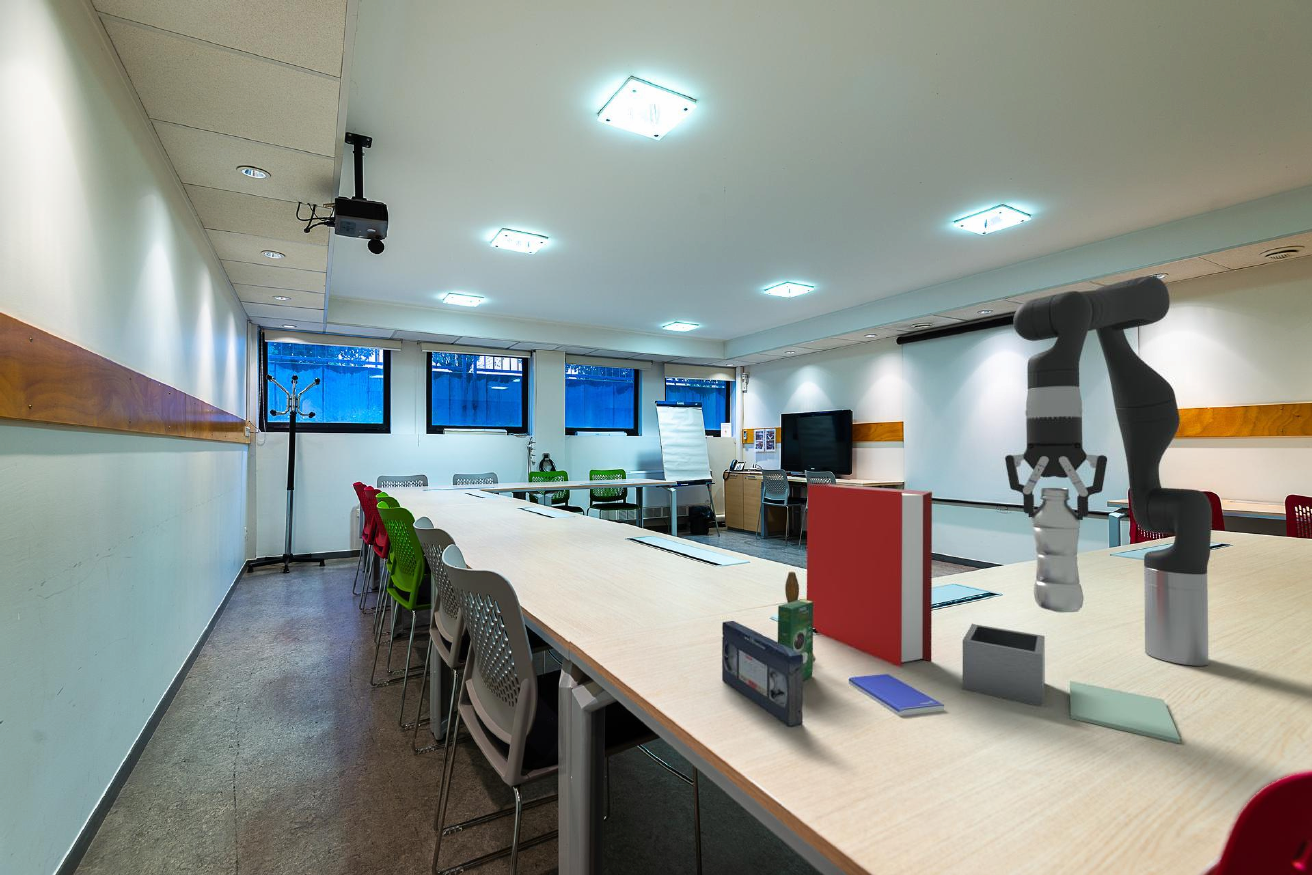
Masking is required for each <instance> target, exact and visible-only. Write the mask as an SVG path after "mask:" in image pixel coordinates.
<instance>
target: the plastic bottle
mask: <svg viewBox="0 0 1312 875" xmlns="http://www.w3.org/2000/svg"><path fill="white" fill-rule="evenodd" d="M1040 490H1041V491H1040V492H1041V493H1040V495H1041V496H1040V500H1042V503H1041V504H1040V505H1039V506H1038V507H1037V508H1036V509H1035V510H1034V515H1033V517H1031V518H1030V519H1031V526H1032V532H1033V537H1034V541H1035V550H1036V573H1035V574H1036V575H1035V578H1036V579H1035V581H1034V586H1033V596H1034V601H1035V603H1036V605H1037V606H1038V607H1040V608H1041V609H1044V610H1049V611H1052V612H1055V613H1063V614H1064V613H1077V612H1079V611H1080V610H1081V608H1083V605H1084V594H1083V588H1082V585H1081V584H1080V583H1081V582H1080V573H1079V567H1078V566H1079V565H1078V557H1077V555H1078V544H1079V543H1078V542H1079V537H1080V528H1081V520H1078V513H1076V511H1075V510H1074V509H1073V508H1072V507H1071V506H1070V505H1069V503H1068V501H1070V490H1069V488H1066V487H1065V488H1064V487H1063V488H1061V487H1042V488H1041V489H1040Z"/></svg>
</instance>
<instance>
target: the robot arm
mask: <svg viewBox="0 0 1312 875" xmlns="http://www.w3.org/2000/svg"><path fill="white" fill-rule="evenodd" d="M1167 287H1168V286H1167V285H1166V284H1165V282H1164V281H1163V280H1162V279H1161V278H1158V277H1156V276H1153V275H1151V276H1150V275H1149V276H1148V275H1146V276H1139V277H1134V278H1131V279H1128V280H1123V281H1119V282H1116V283H1113V284H1108V285H1105V286H1101V287H1097V288H1096V289H1094V290H1084V291H1077V290H1073V291H1072V290H1071V291H1065V292H1060V293H1056V294H1051V295H1047V296H1043V297H1042V296H1041V297H1037V298H1034V299H1029V300H1027V301H1025V302H1023V303H1022V304H1021V305H1019V307H1018V308H1017V309H1016V311H1015V313H1014V315H1013V319H1012V320H1013V328H1014V330H1015V331H1016V333H1017V334H1018V336H1020V337H1021V338H1022V339H1024V340H1027V341H1030V342H1035V341H1044V340H1048V339H1049V340H1050V339H1056V341H1055V343H1054V344H1053V346H1052V347H1050V348H1048V349H1047V350H1045V351H1041V352H1039V353H1037V354H1034V355H1032V356H1031V357H1030V358H1028V360H1027V372H1026V373H1027V374H1026V377H1027V394H1026V401H1025V417H1026V420H1025V421H1026V422H1025V423H1026V428H1025V429H1026V449H1025V451H1024V453H1022V454H1020V453H1019V454H1014V455H1013V454H1008V455H1006V456H1005V458H1004V460H1005V466H1006V471H1007V472H1006V473H1007V477H1008V482H1009V487H1010V489H1011V490H1012V491H1017V492H1019V493H1021V494H1022V495H1023V496H1022V497H1023V498H1022V499H1023V512H1024V514H1026V515H1027V514H1028V518H1032V517H1033V515H1034V512H1035V494H1033V491H1034V489H1035V487H1036V485H1037V483H1038V482H1039V480H1040V479H1041V477H1042V478H1052V477H1056V478H1060V479H1061V478H1062V479H1067V478H1068V479H1069V480H1070V482H1071V483H1072V485H1073V487H1074V488H1075V490H1076V492H1077V493H1078V496H1076V498H1077V499H1076V503H1077V506H1076V507H1077V508H1076V509H1077V513H1076V514H1077V516H1078V520H1080V521H1084V517H1088V515H1089V497H1090V496H1091V495H1095V494H1099V493H1101V492H1102V491H1103V487H1104V481H1105V475H1106V470H1107V462H1108V458H1107V456H1106V455H1103V454H1100V455H1094V454H1087V453H1086V452H1085V450H1084V447H1083V407H1082V405H1083V403H1082V396H1081V390H1080V361H1081V356H1082V351H1083V349H1084V344H1085V341H1086V337H1087V335H1088V332H1090V331H1091V332H1092V331H1096V335H1097V337H1098V341H1099V344H1100V347H1101V350H1102V353H1103V357H1104V360H1105V364H1106V368H1107V373H1108V376H1109V382H1110V387H1111V392H1112V397H1113V404H1114V405H1113V406H1114V409H1115V414H1116V419H1117V422H1118V426H1119V431H1120V434H1121V438H1122V439H1121V440H1122V444H1123V448H1124V453H1125V458H1126V466H1127V475H1128V484H1129V493H1130V494H1129V495H1130V503H1131V504H1130V505H1131V511H1132V516H1133V519H1134V520H1135V522H1136V524H1137V526H1138V527H1139V528H1140V529H1141V530H1143V531H1144V532H1149V533H1153V534H1160V535H1163V534H1164V535H1170V536H1174V542H1173V544H1171V546H1169V547H1167V548H1164V549H1158V550H1150V551H1147V552H1146V553H1145V554H1144V556H1143V568H1144V569H1143V570H1144V571H1143V573H1144V575H1143V576H1144V577H1143V578H1144V580H1143V581H1144V652H1145V653H1146V655H1148V656H1150V657H1153V658H1156V659H1159V660H1162V661H1164V662H1169V663H1173V664H1174V663H1175V664H1181V665H1188V666H1197V667H1199V666H1200V667H1201V666H1206V665H1209V603H1208V602H1209V599H1208V598H1209V597H1208V595H1209V594H1208V591H1209V590H1208V565H1209V560H1210V556H1211V538H1212V537H1211V536H1212V522H1213V510H1212V505H1211V502H1210V499H1209V497H1208V496H1207V494H1206V493H1204V492H1203V491H1201V490H1198V489H1191V488H1189V489H1188V488H1175V487H1173V488H1170V487H1162V484H1161V479H1160V463H1161V460H1162V458H1163V455H1164V454H1165V452H1166V451H1167V449H1168V447H1169V446H1170V445H1171V443H1172V441H1173V439H1174V438H1175V436H1176V434H1177V432H1178V430H1179V427H1180V423H1181V422H1180V421H1181V420H1180V412H1179V409H1178V403H1177V398H1176V394H1175V391H1174V388H1173V387H1172V385H1171V383H1169V382H1168V380H1166V378H1164V377H1163V376H1162V375H1161V374H1160V373H1158V372H1157V371H1156V370H1155V369H1153V368H1152V367H1151V366H1150V365H1148V363H1146V362H1145V361H1144V360H1143V359H1142V358H1141V357H1140V356H1138V354H1137V353H1136V352H1135V351H1134V350H1133V348H1132V346H1131V344H1130V343H1129V340H1128V339H1127V337H1126V333H1125V331H1124V330H1128V329H1132V328H1138V327H1144V326H1149V325H1152V324H1154V323H1157V322H1159V321H1161V320H1162V319H1164V318H1165V317H1166V315H1167V314H1168V313H1169V309H1170V300H1171V299H1170V294H1169V290H1168V288H1167ZM1022 461H1025V462H1026V464H1027V465H1028V466H1029V467H1030V468H1031V469H1032V470H1033V471H1032V472H1031V474H1030V476H1029V478H1028V479H1027V481H1026V484H1022V483H1020V479H1019V475H1018V468H1019V467H1020V466H1021V464H1022V463H1021V462H1022ZM1085 461H1088V463H1089V465H1090V467H1091V468H1092V469H1095V470H1094V475H1093V482H1092V485H1090V486H1085V484H1084V482H1083V481H1082V479H1081V477H1080V476H1079V474H1078V472H1077V470H1078V469H1079V468H1080V467H1081V465H1082V464H1083V463H1085Z"/></svg>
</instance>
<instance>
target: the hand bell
mask: <svg viewBox="0 0 1312 875" xmlns="http://www.w3.org/2000/svg"><path fill="white" fill-rule="evenodd" d="M784 585H785V586H784V587H785V588H784V590H785V598H786V602H787V603H790V602H793V601H796V600H799V597H800V596H799V595H800V585H799V582H798V578H797V575H796V572H795V571H789V572H788V574H787V577H786V580H785V584H784ZM815 658H816V657H815V654H814V653H813V661H814V660H815Z"/></svg>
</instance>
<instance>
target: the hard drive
mask: <svg viewBox="0 0 1312 875" xmlns="http://www.w3.org/2000/svg"><path fill="white" fill-rule="evenodd" d="M848 684H849V685H850V686H852V687H853V688H855V689H856V690H858V691H859V692H861V693H863V694H864V695H866V696H867V697H869V698H870V699H872V700H874V701H875V702H876V703H878V704H880V705H881V706H883V707H884V708H886V709H888V710H889V711H890V712H892V713H894V714H895V715H897V716H898V717H903V716H904V717H905V716H910V715H918V714H925V713H927V714H928V713H933V712H940V711H941V712H942V711H945V704H943V703H941V702H940V701H938V700H935V698H933V697H930V696H929V695H927V694H925V693H923V692H922V691H919V690H918V689H916V688H914V687H912V686H911V685H909V684H907V683H905V682H903V681H902V680H900V679H899V678H896V677H894V676H892V675H890V674H888V673H881V674H872V675H862V676H853V677H849V678H848Z"/></svg>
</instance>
